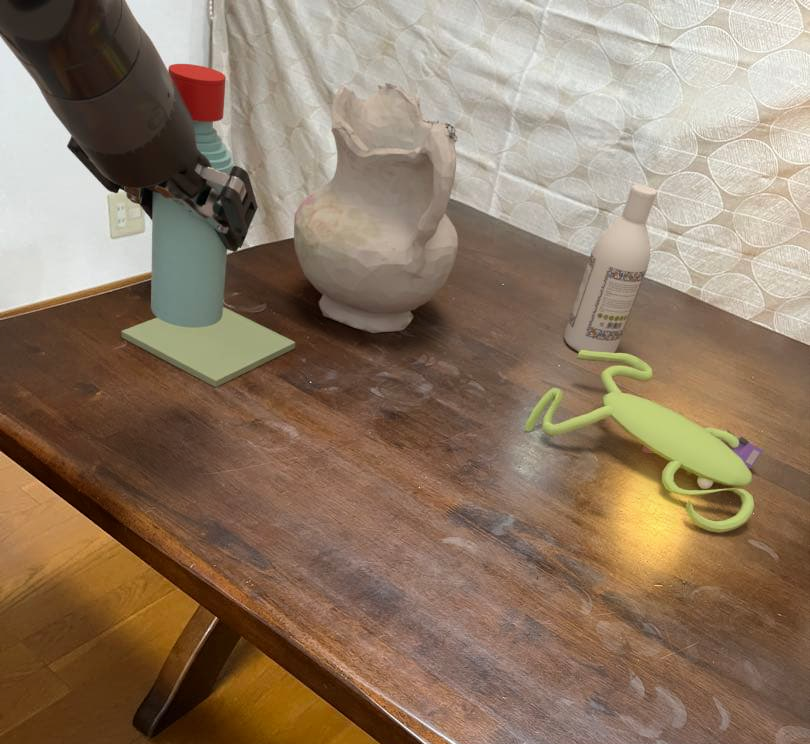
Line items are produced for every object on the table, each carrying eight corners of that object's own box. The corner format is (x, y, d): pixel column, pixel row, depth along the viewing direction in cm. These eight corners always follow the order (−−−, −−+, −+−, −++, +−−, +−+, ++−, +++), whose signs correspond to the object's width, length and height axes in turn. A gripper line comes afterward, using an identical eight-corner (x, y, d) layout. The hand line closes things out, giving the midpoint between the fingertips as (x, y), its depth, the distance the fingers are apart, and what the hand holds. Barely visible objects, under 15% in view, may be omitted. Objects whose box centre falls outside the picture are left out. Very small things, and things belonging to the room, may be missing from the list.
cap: (155, 106, 64) (156, 65, 62) (194, 102, 67) (195, 62, 65) (197, 124, 63) (198, 82, 61) (234, 118, 65) (237, 78, 64)
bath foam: (625, 354, 111) (686, 198, 99) (591, 363, 107) (649, 202, 95) (586, 329, 115) (640, 176, 103) (552, 337, 111) (603, 179, 99)
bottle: (135, 306, 73) (136, 68, 62) (185, 289, 78) (195, 63, 66) (188, 334, 72) (199, 94, 60) (236, 315, 76) (255, 87, 64)
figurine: (586, 373, 105) (601, 331, 102) (790, 481, 94) (815, 439, 90) (500, 418, 93) (514, 372, 89) (723, 548, 82) (749, 502, 78)
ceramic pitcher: (479, 349, 107) (546, 138, 93) (362, 370, 94) (420, 129, 80) (368, 277, 118) (413, 78, 103) (249, 287, 105) (282, 61, 91)
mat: (121, 337, 91) (121, 330, 90) (206, 304, 100) (206, 298, 100) (215, 387, 87) (216, 380, 86) (295, 348, 96) (295, 342, 96)
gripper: (239, 77, 55) (296, 215, 71) (42, 16, 57) (142, 163, 73) (192, 182, 54) (261, 296, 70) (-6, 116, 56) (106, 242, 72)
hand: (200, 228), depth 72 cm, fingers closed on bottle, 6 cm apart
